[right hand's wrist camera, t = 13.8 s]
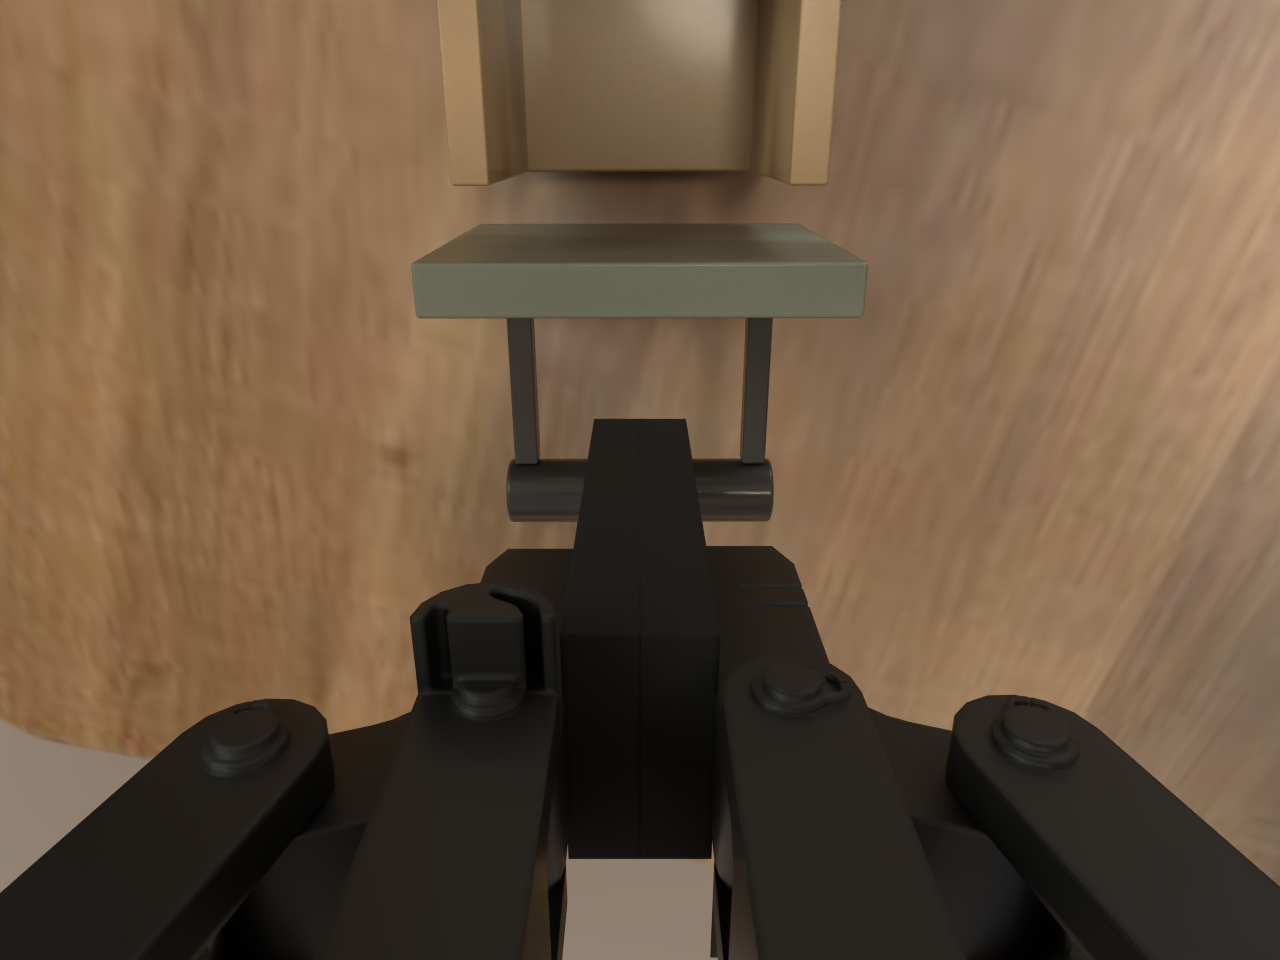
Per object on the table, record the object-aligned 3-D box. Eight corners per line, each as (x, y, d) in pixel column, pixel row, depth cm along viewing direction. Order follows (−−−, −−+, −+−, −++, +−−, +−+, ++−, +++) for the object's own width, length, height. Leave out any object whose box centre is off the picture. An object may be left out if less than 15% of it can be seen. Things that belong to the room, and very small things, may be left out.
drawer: (786, 445, 29) (840, 561, 21) (494, 445, 29) (439, 562, 21) (845, -462, 20) (974, -832, 13) (431, -460, 20) (301, -831, 13)
